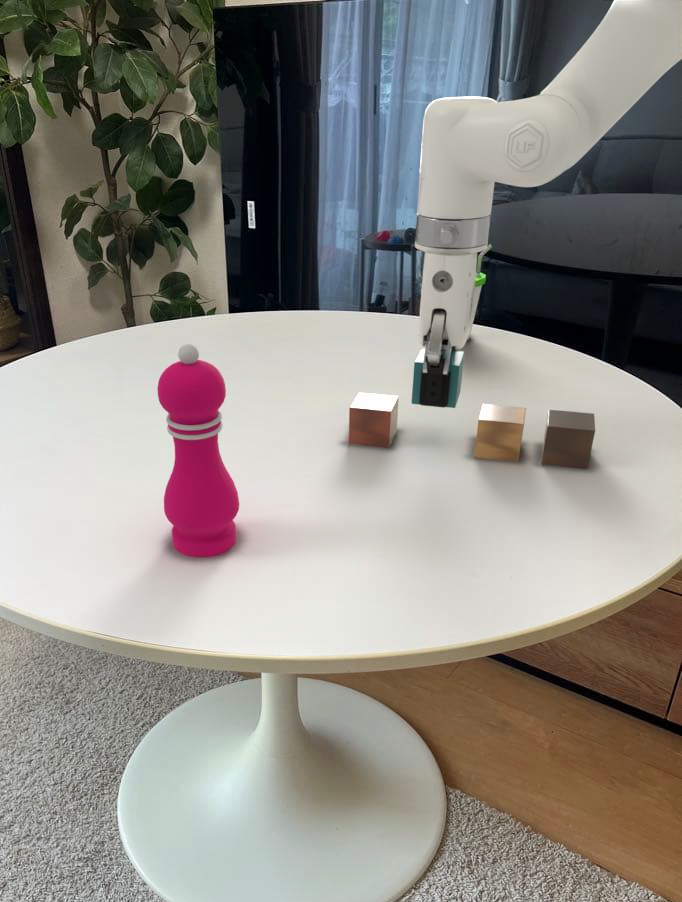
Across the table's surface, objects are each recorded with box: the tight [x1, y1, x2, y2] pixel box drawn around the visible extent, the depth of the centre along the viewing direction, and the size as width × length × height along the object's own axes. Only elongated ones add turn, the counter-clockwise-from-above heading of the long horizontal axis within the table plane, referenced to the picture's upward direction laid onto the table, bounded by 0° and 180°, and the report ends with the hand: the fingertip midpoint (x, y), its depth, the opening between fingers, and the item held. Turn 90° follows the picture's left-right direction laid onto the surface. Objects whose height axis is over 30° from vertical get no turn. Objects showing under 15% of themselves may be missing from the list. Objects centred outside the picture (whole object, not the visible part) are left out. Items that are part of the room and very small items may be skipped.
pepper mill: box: [157, 343, 240, 558], centre depth 73 cm, size 7×7×20 cm
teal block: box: [411, 347, 465, 409], centre depth 91 cm, size 5×5×5 cm
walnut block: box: [540, 409, 596, 470], centre depth 90 cm, size 5×5×5 cm
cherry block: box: [348, 392, 400, 449], centre depth 96 cm, size 5×5×5 cm
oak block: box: [473, 403, 527, 463], centre depth 92 cm, size 5×5×5 cm
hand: (436, 394), depth 92 cm, fingers closed on teal block, 5 cm apart
